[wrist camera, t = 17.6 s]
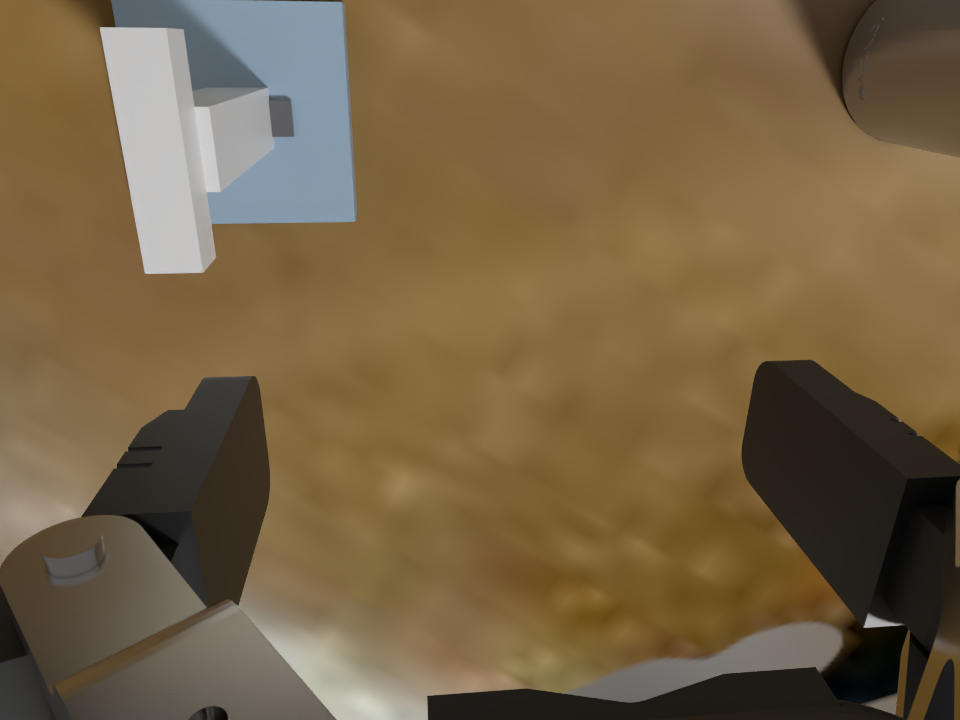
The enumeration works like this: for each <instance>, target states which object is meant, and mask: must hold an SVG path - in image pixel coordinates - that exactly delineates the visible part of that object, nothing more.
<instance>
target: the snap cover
mask: <svg viewBox="0 0 960 720" xmlns="http://www.w3.org/2000/svg"><path fill="white" fill-rule="evenodd" d="M111 3H112V9H113V15H114V20H115V26H116V27H100V32H101V37H102V42H103V48H104V53H105V59H106V64H107V69H108V75H109V80H110V86H111V91H112V97H113V102H114V107H115V113H116V118H117V124H118V129H119V134H120V140H121V145H122V151H123V156H124V161H125V167H126V172H127V178H128V183H129V189H130V194H131V199H132V205H133V210H134V216H135V221H136V226H137V232H138V237H139V243H140V248H141V253H142V259H143V264H144V270H145V274H161V273H203V272H204V271H205V270H206V269H207V267H208V266H209V265H210V264H211V263H212V262H213V261H214V259H215V258H216V254H215V247H214V240H213V233H212V226H211V224H227V223H300V222H355V221H356V217H357V204H356V187H355V170H354V154H353V137H352V120H351V104H350V87H349V70H348V54H347V37H346V20H345V4H344V3H343V2H317V1H251V0H111Z"/></svg>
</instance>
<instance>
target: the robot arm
mask: <svg viewBox="0 0 960 720" xmlns="http://www.w3.org/2000/svg"><path fill="white" fill-rule="evenodd" d="M842 87H843V96H844V99H845V102H846V106H847V109H848V111H849V113H850V115H851V116H852V118H853V119H854V121H855V123H856V124H857V125H858V126H859V127H860V128H861V129H862V130H863V131H864V132H865V133H867V134H868V135H870V136H872V137H874V138H876V139H878V140H880V141H885V142H889V143H893V144H898V145H903V146H908V147H912V148H917V149H922V150H926V151H930V152H935V153H940V154H945V155H950V156H955V157H960V0H876V1H875V2H874V3H873V4H872V5H871V6H870V7H869V8H868V10H867V11H866V12H865V14H864V15H863V17H862V18H861V20H860V21H859V22H858V24H857V26H856V28H855V30H854V32H853V34H852V36H851V38H850V40H849V43H848V47H847V50H846V54H845V57H844V61H843V71H842ZM742 464H743V469H744V472H745V475H746V478H747V480H748V482H749V483H750V485H751V486H752V487H753V489H754V490H755V491H756V492H757V494H758V495H759V496H760V497H761V499H762V500H763V501H764V502H765V504H766V505H767V506H768V508H769V509H770V510H771V511H772V513H773V514H774V515H775V516H776V518H777V519H778V520H779V521H780V523H781V524H782V525H783V526H784V528H785V529H786V530H787V531H788V533H789V534H790V535H791V537H792V538H793V539H794V540H795V542H796V543H797V544H798V545H799V547H800V548H801V549H802V550H803V552H804V553H805V554H806V555H807V557H808V558H809V559H810V560H811V562H812V563H813V564H814V566H815V567H816V568H817V569H818V571H819V572H820V573H821V574H822V576H823V577H824V578H825V579H826V581H827V582H828V583H829V584H830V586H831V587H832V588H833V590H834V591H835V592H836V593H837V595H838V596H839V597H840V598H841V600H842V601H843V602H844V603H845V605H846V606H847V607H848V608H849V610H850V611H851V612H852V613H853V615H854V616H855V617H856V619H857V620H858V621H859V622H860V624H861V625H862V626H863V627H864V628H867V627H881V626H896V625H905V626H906V627H907V628H908V629H909V630H908V633H907V637H906V640H905V643H904V646H903V649H902V653H901V663H900V674H899V684H898V694H897V705H896V715H894V714H891V713H888V712H885V711H882V710H878V709H875V708H873V707H869V706H865V705H861V704H856V703H852V702H848V701H843V700H837V699H836V697H835V696H834V694H833V693H832V691H831V690H830V688H829V687H828V685H827V684H826V682H825V681H824V679H823V678H822V676H821V675H820V673H819V672H818V670H817V669H816V667H812V668H798V669H784V670H772V671H757V672H745V673H730V674H722V675H719V676H716V677H713V678H710V679H708V680H705V681H702V682H699V683H696V684H692V685H690V686H686V687H684V688H680V689H677V690H675V691H672V692H669V693H666V694H663V695H660V696H657V697H654V698H651V699H648V700H645V701H641V702H635V703H626V702H618V701H611V700H603V699H597V698H589V697H582V696H575V695H568V694H561V693H554V692H547V691H540V690H533V689H515V690H501V691H488V692H474V693H461V694H448V695H434V696H427V697H428V720H960V464H958V463H957V462H956V461H954V460H953V459H952V458H950V457H949V456H948V455H946V454H945V453H944V452H942V451H941V450H940V449H938V448H937V447H936V446H934V445H933V444H932V443H930V442H929V441H928V440H926V439H925V438H924V437H922V436H917V432H916V431H914V430H913V429H912V428H910V427H909V426H908V425H906V424H905V423H904V422H899V421H898V418H897V417H896V416H894V415H893V414H892V413H890V412H889V411H888V410H886V409H885V408H884V407H882V406H881V405H880V404H879V403H877V402H876V401H873V400H871V399H869V398H867V397H865V396H862V395H860V394H858V393H856V392H854V391H852V390H851V389H850V388H849V387H847V386H846V385H845V384H843V383H842V382H841V381H839V380H838V379H837V378H836V377H834V376H833V375H832V374H830V373H829V372H828V371H826V370H825V369H824V368H822V367H821V366H820V365H819V364H817V363H816V362H814V361H812V360H791V361H765V362H763V363H762V364H761V365H760V366H759V367H758V369H757V371H756V374H755V378H754V383H753V388H752V394H751V399H750V405H749V410H748V416H747V421H746V427H745V432H744V438H743V443H742ZM269 490H270V469H269V459H268V451H267V443H266V435H265V427H264V419H263V411H262V403H261V395H260V389H259V384H258V381H257V379H256V377H255V376H244V377H212V378H204V379H203V380H202V381H201V383H200V384H199V386H198V388H197V389H196V391H195V393H194V394H193V396H192V398H191V400H190V401H189V403H188V405H187V406H186V408H185V410H167V411H166V412H164V413H163V414H161V415H160V416H159V417H157V418H156V419H154V420H153V421H151V422H150V423H148V424H147V425H145V426H144V427H142V428H141V430H140V431H139V433H138V434H137V435H136V437H135V438H134V440H133V441H132V443H131V444H130V446H129V447H128V452H125V453H124V455H123V456H122V458H121V459H120V461H119V462H118V464H117V469H113V471H112V472H111V474H110V475H109V477H108V478H107V480H106V481H105V483H104V484H103V486H102V487H101V489H100V490H99V492H98V493H97V495H96V496H95V497H94V499H93V500H92V502H91V503H90V505H89V506H88V508H87V509H86V511H85V512H84V514H83V515H82V517H81V518H76V519H72V520H68V521H65V522H62V523H59V524H56V525H54V526H51V527H49V528H47V529H44V530H42V531H40V532H38V533H36V534H35V535H33V536H31V537H30V538H28V539H27V540H25V541H23V542H22V543H21V544H20V545H18V546H17V547H16V548H15V549H14V550H13V551H12V552H11V553H10V554H9V555H8V556H7V557H6V559H5V560H4V562H3V563H2V565H1V568H0V720H336V719H335V718H334V716H333V715H332V714H331V713H330V712H329V711H328V709H327V708H326V707H325V706H324V705H323V704H322V702H321V701H320V700H319V699H318V698H317V697H316V695H315V694H314V693H313V692H312V691H311V690H310V689H309V687H308V686H307V685H306V684H305V683H304V682H303V680H302V679H301V678H300V677H299V676H298V675H297V673H296V672H295V671H294V670H293V669H292V668H291V667H290V665H289V664H288V663H287V662H286V661H285V660H284V658H283V657H282V656H281V655H280V654H279V653H278V651H277V650H276V649H275V648H274V647H273V646H272V645H271V643H270V642H269V641H268V640H267V639H266V638H265V636H264V635H263V634H262V633H261V632H260V631H259V629H258V628H257V627H256V626H255V625H254V624H253V623H252V621H251V620H250V619H249V618H248V617H247V616H246V614H245V613H244V612H243V611H242V610H241V609H240V608H239V607H238V605H239V601H240V598H241V595H242V591H243V588H244V584H245V581H246V577H247V574H248V570H249V567H250V564H251V560H252V557H253V553H254V550H255V546H256V543H257V540H258V536H259V533H260V529H261V526H262V522H263V519H264V515H265V512H266V509H267V505H268V500H269Z"/></svg>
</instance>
